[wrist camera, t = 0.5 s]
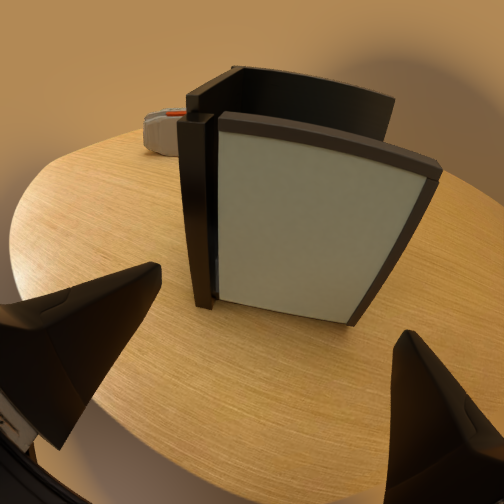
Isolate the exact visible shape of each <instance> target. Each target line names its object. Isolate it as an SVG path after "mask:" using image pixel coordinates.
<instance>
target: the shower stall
mask: <svg viewBox="0 0 504 504" xmlns="http://www.w3.org/2000/svg"><path fill="white" fill-rule="evenodd" d="M394 103H395V98H394V97H392V96H389V95H386V94H383V93H380V92H377V91H373V90H370V89H366V88H363V87H359V86H356V85H351V84H348V83H344V82H340V81H335V80H331V79H326V78H322V77H317V76H312V75H306V74H300V73H295V72H289V71H282V70H274V69H266V68H256V67H246V66H232V67H231V70H229V71H227V72H225V73H223V74H221V75H219V76H218V77H216V78H214V79H212V80H210V81H208V82H207V83H205V84H203V85H202V86H200V87H198V88H196V89H195V90H193V91H191V92H190V93H188V94H187V95H186V114H185V115H184V116H183V117H181V118H180V119H179V120H178V121H177V122H176V124H177V142H178V158H179V171H180V183H181V194H182V205H183V215H184V224H185V233H186V241H187V249H188V257H189V265H190V272H191V279H192V286H193V293H194V299H195V305H196V307H200V308H204V309H209V310H212V309H213V306H214V303H215V300H216V299H218V300H221V299H220V298H219V254H218V150H219V131H218V118H219V117H220V116H221V115H222V114H223V113H224V112H225V111H228V112H238V113H246V114H254V115H262V116H269V117H275V118H281V119H287V120H293V121H299V122H304V123H309V124H314V125H319V126H323V127H328V128H332V129H337V130H341V131H345V132H349V133H353V134H357V135H361V136H364V137H368V138H371V139H375V140H378V141H382V142H383V140H384V137H385V134H386V130H387V127H388V124H389V120H390V117H391V114H392V110H393V106H394ZM223 301H226V300H223ZM227 302H230V301H227ZM232 303H235V302H232ZM236 304H239V303H236ZM241 305H244V304H241ZM246 306H249V305H246ZM250 307H254V306H250ZM255 308H258V307H255ZM260 309H263V308H260ZM265 310H268V309H265ZM270 311H273V310H270ZM275 312H278V311H275ZM280 313H283V312H280ZM285 314H289V313H285ZM290 315H294V314H290ZM296 316H299V315H296ZM301 317H305V316H301ZM307 318H310V317H307ZM312 319H316V318H312ZM318 320H322V319H318ZM324 321H328V320H324ZM330 322H334V321H330ZM336 323H340V322H336ZM342 324H346V323H342Z"/></svg>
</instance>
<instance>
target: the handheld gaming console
mask: <svg viewBox="0 0 504 504" xmlns="http://www.w3.org/2000/svg"><path fill="white" fill-rule="evenodd" d="M185 114H186V108H167V109H162V110H161V111H158V112H152V113H149V114H147V115H146V116H145V118H144V119H145V121H144V128H143V140H144V146H145V147H146V148H147V149H149V150H152V151H155V152H158V153H160V154H162V155H167V156H178V142H177V124H176V122H177V121H178V120H179V119H180V118H181V117H183V116H184V115H185Z"/></svg>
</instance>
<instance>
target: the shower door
mask: <svg viewBox="0 0 504 504" xmlns="http://www.w3.org/2000/svg"><path fill="white" fill-rule="evenodd" d="M218 131H219V150H218V254H219V298H220V299H221V300H226V301H230V302H235V303H239V304H244V305H249V306H254V307H258V308H263V309H268V310H273V311H278V312H283V313H289V314H294V315H299V316H305V317H310V318H316V319H322V320H328V321H334V322H340V323H346V325H347V326H352V327H354V326H355V325H356V323H357V322H358V321H359V319H360V318H361V316H362V315H363V314H364V312H365V311H366V309H367V308H368V306H369V305H370V303H371V302H372V301H373V299H374V298H375V296H376V295H377V293H378V292H379V290H380V289H381V287H382V285H383V284H384V282H385V281H386V279H387V278H388V276H389V274H390V273H391V271H392V270H393V268H394V266H395V265H396V263H397V261H398V260H399V258H400V256H401V255H402V253H403V251H404V250H405V248H406V246H407V244H408V243H409V241H410V239H411V237H412V236H413V234H414V232H415V230H416V228H417V226H418V225H419V223H420V221H421V219H422V217H423V215H424V213H425V211H426V209H427V207H428V205H429V203H430V201H431V199H432V197H433V195H434V193H435V191H436V189H437V187H438V185H439V181H438V180H439V178H440V176H441V174H442V172H443V169H442V167H441V166H440V165H439V163H438V162H437V160H435V159H432V158H429V157H427V156H424V155H421V154H418V153H416V152H413V151H410V150H407V149H404V148H401V147H398V146H395V145H391V144H388V143H385V142H382V141H378V140H375V139H371V138H368V137H364V136H361V135H357V134H353V133H349V132H345V131H341V130H337V129H332V128H328V127H323V126H319V125H314V124H309V123H304V122H299V121H293V120H287V119H281V118H275V117H269V116H262V115H254V114H246V113H238V112H228V111H225V112H224V113H223V114H222V115H221V116H220V117H219V118H218Z"/></svg>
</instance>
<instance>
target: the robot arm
mask: <svg viewBox="0 0 504 504" xmlns="http://www.w3.org/2000/svg"><path fill="white" fill-rule="evenodd" d="M161 285H162V269H161V265H160V264H157V263H154V262H147V263H144V264H141V265H138V266H134V267H131V268H128V269H125V270H122V271H119V272H116V273H113V274H109V275H106V276H103V277H100V278H97V279H94V280H91V281H88V282H85V283H82V284H79V285H76V286H73V287H71V288H67V289H64V290H61V291H57V292H54V293H51V294H47V295H44V296H40V297H36V298H32V299H28V300H25V301H21V302H17V303H13V304H6V305H5V304H0V504H92V503H90V502H89V501H87V500H86V499H84V498H82V497H81V496H80V495H78V494H77V493H75V492H74V491H72V490H71V489H69V488H68V487H67V486H65V485H64V484H62V483H61V482H60V481H58V480H57V479H56V478H55V477H53V476H52V475H51V474H49V473H48V472H47V471H46V470H44V469H43V468H42V467H41V466H39V465H38V464H37V459H36V454H35V449H34V442H33V441H34V440H35V438H36V437H37V435H38V434H39V435H40V436H41V437H42V438H43V439H45V440H46V441H47V442H48V443H50V444H51V445H52V446H53V447H55V448H56V449H57V450H59V451H60V449H61V448H62V446H63V445H64V443H65V441H66V440H67V438H68V436H69V434H70V433H71V431H72V429H73V428H74V426H75V424H76V422H77V421H78V419H79V417H80V416H81V414H82V413H83V411H84V410H85V408H86V407H85V406H87V404H88V403H89V401H90V400H91V398H92V396H93V395H94V393H95V392H96V390H97V389H98V387H99V385H100V384H101V382H102V381H103V379H104V378H105V376H106V375H107V373H108V372H109V370H110V369H111V367H112V365H113V364H114V362H115V361H116V359H117V358H118V356H119V355H120V353H121V352H122V350H123V349H124V348H125V346H126V345H127V343H128V342H129V340H130V339H131V337H132V336H133V334H134V333H135V331H136V330H137V329H138V327H139V326H140V324H141V323H142V321H143V320H144V318H145V316H146V314H147V312H148V311H149V309H150V307H151V305H152V303H153V301H154V300H155V298H156V296H157V294H158V292H159V291H160V289H161ZM385 490H386V491H385V496H384V503H383V504H504V438H503V437H502V436H501V434H500V433H499V432H498V431H497V430H496V428H495V427H494V426H493V425H492V424H491V422H490V421H489V420H488V419H487V418H486V417H485V415H484V414H483V413H482V412H481V411H480V410H479V408H478V407H477V406H476V404H475V403H474V402H473V401H472V399H471V398H470V397H469V395H468V394H466V392H465V390H464V389H463V388H462V386H461V385H460V384H459V383H458V381H457V380H456V379H455V378H454V376H453V375H452V374H451V373H450V372H449V370H448V369H447V368H446V367H445V365H444V364H443V363H442V362H441V361H440V359H439V358H438V357H437V356H436V355H435V353H434V352H433V351H432V350H431V349H430V348H429V346H428V345H427V344H426V343H425V342H424V341H423V339H422V338H421V337H420V336H419V335H418V334H417V333H416V332H415V331H412V330H404V331H403V333H402V334H401V336H400V338H399V339H398V341H397V342H396V344H395V346H394V348H393V359H392V374H391V420H390V446H389V460H388V471H387V481H386V489H385Z"/></svg>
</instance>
